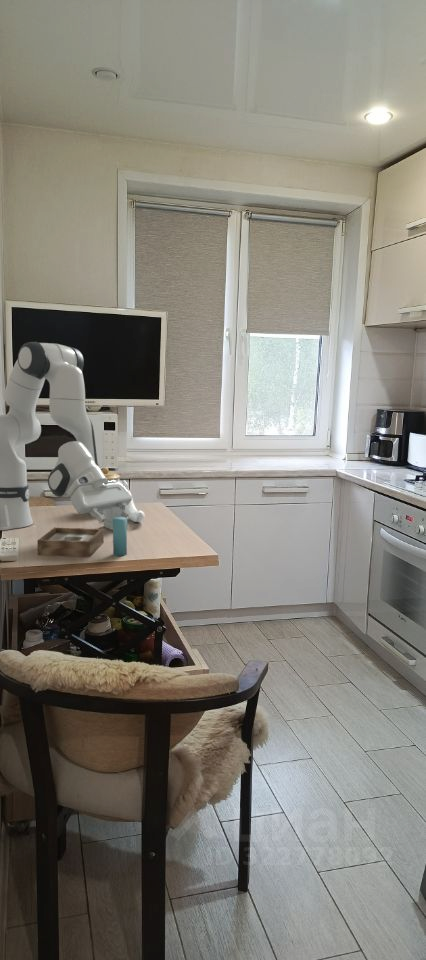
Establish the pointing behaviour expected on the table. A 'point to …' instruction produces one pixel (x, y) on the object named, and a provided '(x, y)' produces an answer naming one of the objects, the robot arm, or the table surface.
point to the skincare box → (112, 516)
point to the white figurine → (133, 509)
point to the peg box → (71, 542)
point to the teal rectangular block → (119, 536)
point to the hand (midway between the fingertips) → (114, 518)
